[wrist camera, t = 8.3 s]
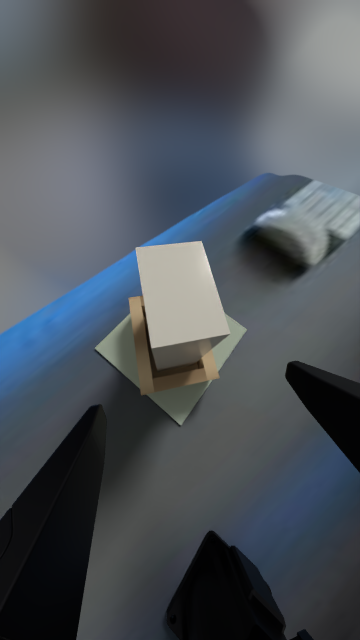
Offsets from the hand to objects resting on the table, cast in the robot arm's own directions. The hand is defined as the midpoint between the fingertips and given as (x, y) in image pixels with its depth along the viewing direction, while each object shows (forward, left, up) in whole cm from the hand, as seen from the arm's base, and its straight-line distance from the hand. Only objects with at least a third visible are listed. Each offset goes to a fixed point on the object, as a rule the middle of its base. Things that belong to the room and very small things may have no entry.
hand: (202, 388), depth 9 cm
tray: (+3, +4, -13) cm, 14 cm away
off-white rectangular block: (+3, +4, -12) cm, 13 cm away
